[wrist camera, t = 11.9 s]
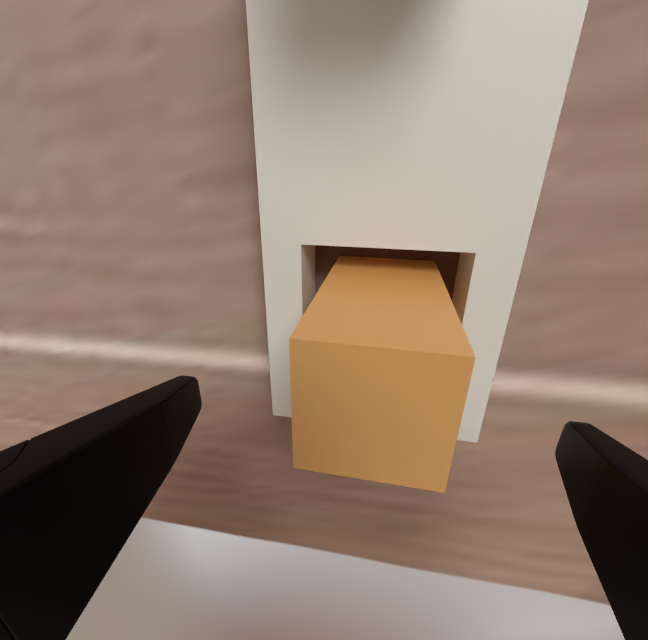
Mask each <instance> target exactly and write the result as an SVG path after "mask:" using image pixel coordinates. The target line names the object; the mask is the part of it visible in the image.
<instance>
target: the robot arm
mask: <svg viewBox="0 0 648 640" xmlns="http://www.w3.org/2000/svg"><path fill="white" fill-rule="evenodd" d="M200 410H201V396H200V390H199V384H198V380H197V379H196V378H195V377H191V376H178V377H176V378H173V379H171V380H169V381H166V382H164V383H162V384H159V385H157V386H154V387H152V388H150V389H147V390H145V391H143V392H140V393H138V394H135V395H133V396H131V397H128V398H126V399H124V400H121V401H119V402H116V403H114V404H112V405H109V406H107V407H105V408H102V409H100V410H97V411H95V412H93V413H90V414H88V415H86V416H83V417H81V418H78V419H76V420H74V421H71V422H69V423H67V424H64V425H62V426H59V427H57V428H55V429H52V430H50V431H48V432H45V433H43V434H40V435H38V436H36V437H33V438H31V440H30V441H29V440H26V441H24V442H21V443H19V444H16V445H14V446H12V447H9V448H7V449H5V450H2V451H0V640H65V639H66V638H67V636H68V635H69V633H70V631H71V630H72V628H73V627H74V625H75V623H76V622H77V620H78V618H79V617H80V615H81V613H82V612H83V610H84V609H85V607H86V606H87V604H88V602H89V601H90V599H91V597H92V596H93V594H94V592H95V591H96V589H97V588H98V586H99V585H100V583H101V581H102V580H103V578H104V576H105V575H106V573H107V571H108V570H109V568H110V567H111V565H112V563H113V562H114V560H115V558H116V557H117V555H118V554H119V552H120V550H121V549H122V547H123V546H124V544H125V542H126V541H127V539H128V538H129V536H130V534H131V533H132V531H133V529H134V528H135V526H136V524H137V523H138V521H139V520H140V518H141V517H142V515H143V513H144V512H145V510H146V508H147V507H148V505H149V504H150V502H151V500H152V499H153V497H154V495H155V494H156V492H157V491H158V489H159V487H160V486H161V484H162V483H163V481H164V479H165V478H166V476H167V474H168V473H169V471H170V470H171V468H172V466H173V464H174V463H175V461H176V459H177V457H178V455H179V453H180V451H181V449H182V447H183V445H184V443H185V441H186V439H187V437H188V435H189V433H190V431H191V429H192V427H193V425H194V423H195V420H196V418H197V416H198V414H199V412H200ZM555 456H556V461H557V464H558V467H559V471H560V474H561V477H562V480H563V484H564V487H565V490H566V493H567V497H568V500H569V503H570V506H571V509H572V513H573V516H574V519H575V522H576V525H577V527H578V530H579V532H580V535H581V537H582V540H583V542H584V544H585V547H586V549H587V552H588V554H589V556H590V559H591V561H592V563H593V566H594V568H595V570H596V573H597V575H598V577H599V580H600V582H601V584H602V587H603V589H604V591H605V594H606V596H607V598H608V601H609V603H610V605H611V608H612V610H613V612H614V615H615V617H616V619H617V622H618V624H619V626H620V629H621V630H622V633H623V636H624V638H625V640H648V460H647V459H645V458H643V457H642V456H640V455H639V454H637V453H635V452H634V451H632V450H631V449H629V448H628V447H626V446H624V445H623V444H621V443H620V442H618V441H616V440H615V439H613V438H612V437H610V436H609V435H607V434H605V433H604V432H602V431H601V430H599V429H597V428H596V427H594V426H593V425H591V424H588V423H582V422H573V421H570V422H567V423H566V424H565V426H564V428H563V431H562V433H561V436H560V439H559V441H558V444H557V447H556V451H555Z"/></svg>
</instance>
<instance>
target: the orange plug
mask: <svg viewBox="0 0 648 640" xmlns="http://www.w3.org/2000/svg"><path fill="white" fill-rule="evenodd" d="M289 350H290V383H291V415H292V448H293V468H295V469H302V470H308V471H314V472H320V473H326V474H332V475H338V476H344V477H351V478H357V479H363V480H369V481H375V482H381V483H387V484H394V485H400V486H406V487H412V488H418V489H424V490H430V491H436V492H443V493H445V490H446V486H447V481H448V477H449V472H450V468H451V464H452V459H453V455H454V450H455V446H456V442H457V437H458V433H459V428H460V424H461V420H462V415H463V411H464V406H465V402H466V398H467V393H468V389H469V384H470V380H471V375H472V371H473V367H474V362H475V358H476V357H475V354H474V352H473V350H472V347H471V345H470V343H469V340H468V338H467V336H466V333H465V331H464V329H463V326H462V324H461V322H460V319H459V317H458V315H457V312H456V310H455V307H454V305H453V303H452V300H451V298H450V296H449V293H448V291H447V289H446V286H445V284H444V282H443V279H442V277H441V275H440V272H439V270H438V268H437V265H436V263H435V261H425V260H408V259H391V258H374V257H357V256H339V257H338V259H337V260H336V262H335V264H334V265H333V267H332V269H331V270H330V272H329V274H328V275H327V277H326V279H325V280H324V282H323V284H322V285H321V287H320V288H319V290H318V292H317V293H316V295H315V297H314V298H313V300H312V302H311V303H310V305H309V307H308V308H307V310H306V311H305V313H304V315H303V316H302V318H301V320H300V321H299V323H298V325H297V326H296V328H295V330H294V331H293V333H292V335H291V336H290V338H289Z"/></svg>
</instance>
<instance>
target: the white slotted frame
mask: <svg viewBox="0 0 648 640" xmlns="http://www.w3.org/2000/svg"><path fill="white" fill-rule="evenodd" d="M588 1H589V0H246V13H247V28H248V43H249V58H250V74H251V89H252V104H253V119H254V135H255V150H256V165H257V180H258V196H259V211H260V226H261V241H262V257H263V272H264V287H265V302H266V318H267V333H268V348H269V363H270V379H271V394H272V409H273V415H275V416H283V417H290V418H292V415H291V383H290V350H289V338H290V336H291V335H292V333H293V331H294V330H295V328H296V326H297V325H298V323H299V321H300V320H301V318H302V316H303V315H304V313H305V311H306V310H307V308H308V307H309V305H310V303H311V302H312V300H313V298H314V297H315V245H323V246H344V247H364V248H385V249H405V250H426V251H446V252H460V256H459V262H458V267H457V273H456V279H455V285H454V290H453V296H452V303H453V305H454V307H455V310H456V312H457V315H458V317H459V319H460V322H461V324H462V326H463V329H464V331H465V333H466V336H467V338H468V340H469V343H470V345H471V347H472V350H473V352H474V354H475V357H476V358H475V362H474V367H473V371H472V375H471V380H470V384H469V389H468V393H467V398H466V402H465V406H464V411H463V415H462V420H461V424H460V428H459V433H458V437H457V440H462V441H469V442H477V441H478V437H479V433H480V429H481V425H482V421H483V417H484V413H485V409H486V406H487V402H488V398H489V394H490V390H491V386H492V382H493V378H494V374H495V370H496V366H497V362H498V358H499V354H500V350H501V346H502V342H503V338H504V334H505V330H506V326H507V322H508V318H509V314H510V310H511V306H512V302H513V298H514V294H515V291H516V287H517V283H518V279H519V275H520V271H521V267H522V263H523V259H524V255H525V251H526V247H527V243H528V239H529V235H530V231H531V227H532V223H533V219H534V215H535V211H536V207H537V203H538V199H539V195H540V191H541V187H542V183H543V180H544V176H545V172H546V168H547V164H548V160H549V156H550V152H551V148H552V144H553V140H554V136H555V132H556V128H557V124H558V120H559V116H560V112H561V108H562V104H563V100H564V96H565V92H566V88H567V84H568V80H569V76H570V72H571V68H572V65H573V61H574V57H575V53H576V49H577V45H578V41H579V37H580V33H581V29H582V25H583V21H584V17H585V13H586V9H587V5H588Z"/></svg>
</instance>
